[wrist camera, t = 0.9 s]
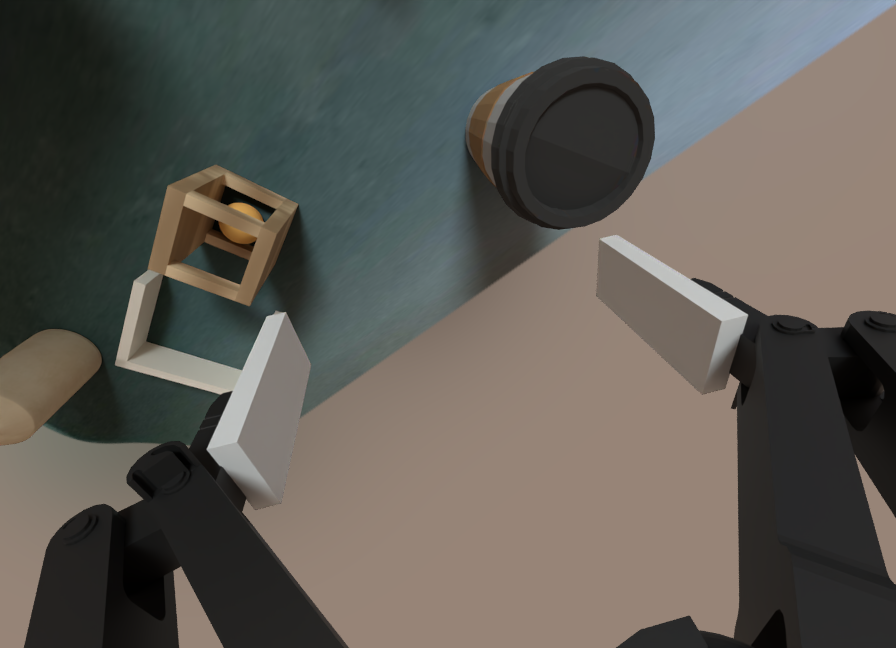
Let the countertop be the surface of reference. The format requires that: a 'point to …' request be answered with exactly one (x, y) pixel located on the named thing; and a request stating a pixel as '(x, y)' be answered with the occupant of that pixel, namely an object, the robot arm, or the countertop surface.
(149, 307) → the white u-shaped corral
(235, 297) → the wooden cage
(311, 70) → the countertop surface
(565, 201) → the coffee cup
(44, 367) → the candle
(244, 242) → the ball
